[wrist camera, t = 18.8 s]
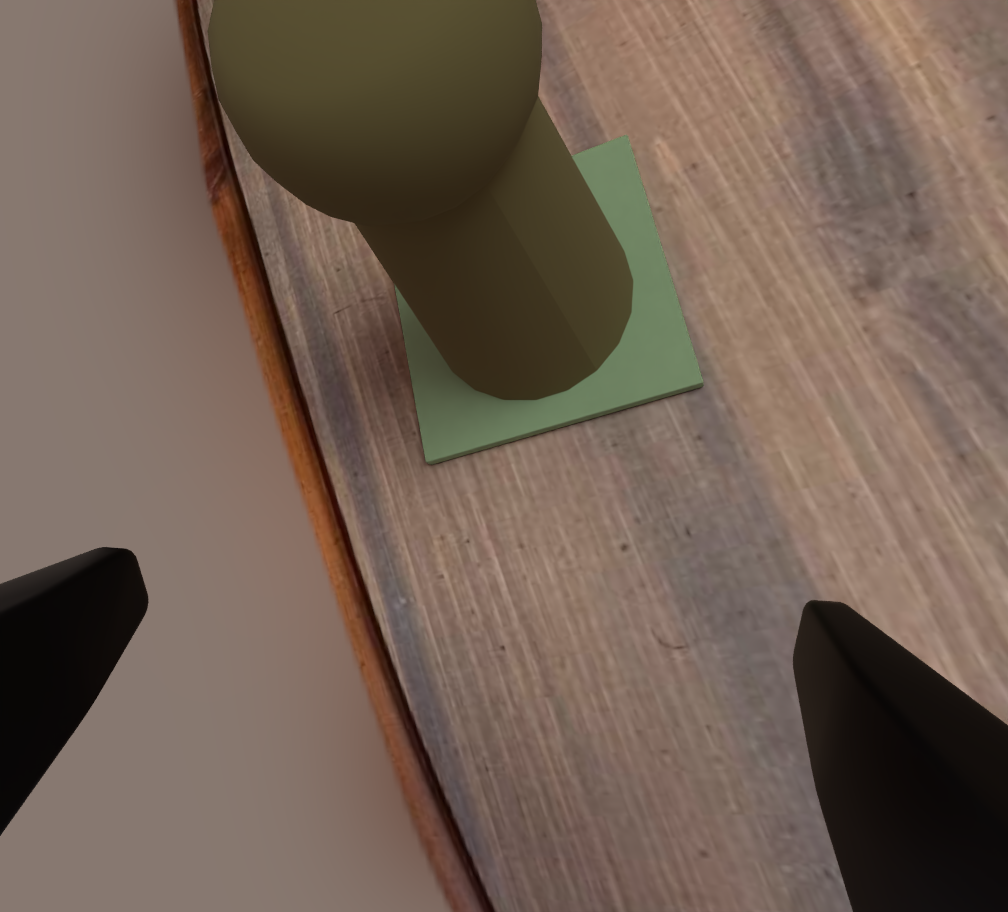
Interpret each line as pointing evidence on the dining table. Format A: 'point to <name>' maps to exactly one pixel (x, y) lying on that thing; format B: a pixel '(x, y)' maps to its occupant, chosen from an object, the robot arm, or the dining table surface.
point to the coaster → (620, 379)
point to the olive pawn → (436, 172)
